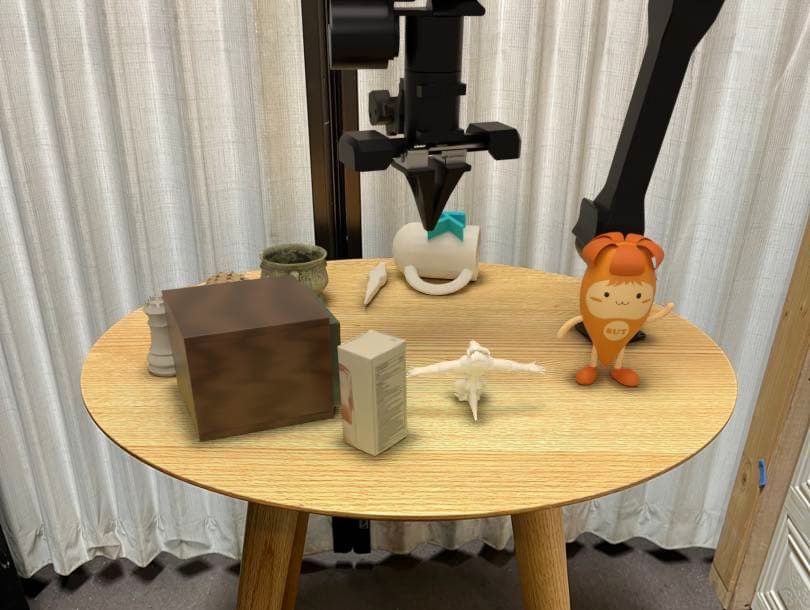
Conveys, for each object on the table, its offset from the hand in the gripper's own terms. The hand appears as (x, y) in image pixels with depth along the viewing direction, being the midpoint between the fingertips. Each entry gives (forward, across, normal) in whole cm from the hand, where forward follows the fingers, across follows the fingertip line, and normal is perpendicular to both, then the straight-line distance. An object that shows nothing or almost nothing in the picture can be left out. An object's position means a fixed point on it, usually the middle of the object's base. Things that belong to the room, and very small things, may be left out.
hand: (428, 230), depth 91 cm
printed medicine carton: (+13, +14, +20) cm, 28 cm away
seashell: (+13, +21, -15) cm, 29 cm away
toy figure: (+13, -15, +16) cm, 25 cm away
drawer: (+12, +21, +8) cm, 25 cm away
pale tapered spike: (+13, 0, -18) cm, 22 cm away
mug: (+13, -9, -19) cm, 25 cm away
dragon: (+13, +2, +17) cm, 22 cm away
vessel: (+13, +11, -18) cm, 25 cm away
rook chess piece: (+13, +30, -3) cm, 33 cm away
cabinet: (+13, +23, +8) cm, 28 cm away
